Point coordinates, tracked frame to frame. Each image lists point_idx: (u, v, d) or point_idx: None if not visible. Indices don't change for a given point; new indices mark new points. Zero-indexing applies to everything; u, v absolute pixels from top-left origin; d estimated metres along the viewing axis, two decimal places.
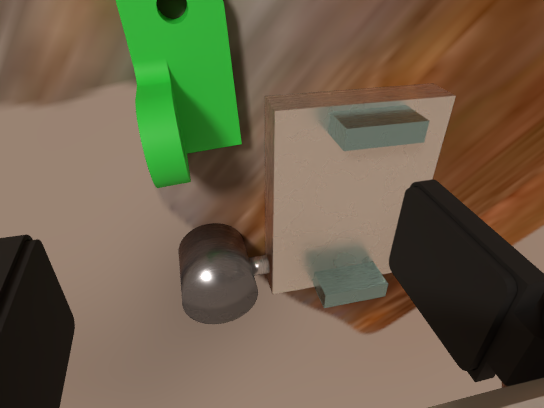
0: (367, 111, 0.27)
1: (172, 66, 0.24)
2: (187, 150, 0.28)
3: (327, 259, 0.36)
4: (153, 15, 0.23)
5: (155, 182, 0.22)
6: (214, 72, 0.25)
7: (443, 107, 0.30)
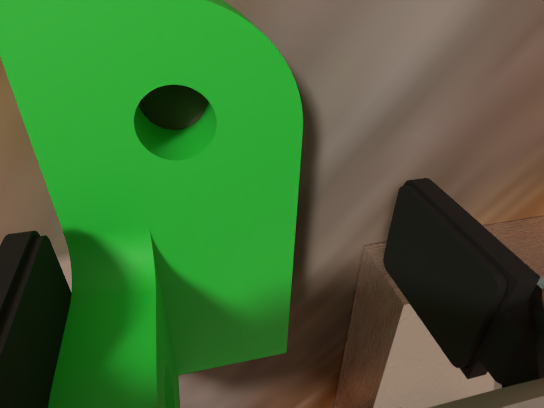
0: None
1: (163, 242, 0.10)
2: (179, 371, 0.14)
3: None
4: (124, 142, 0.09)
5: None
6: (256, 249, 0.11)
7: None
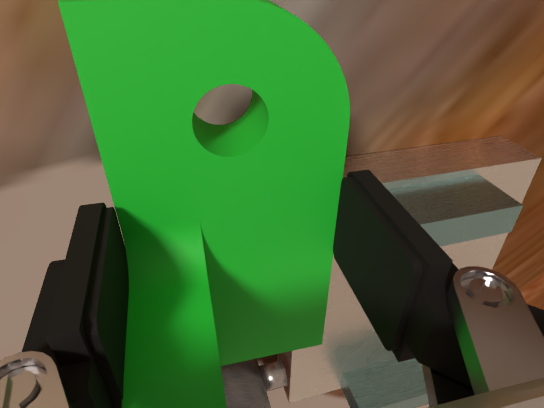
0: (429, 188, 0.19)
1: (212, 236, 0.11)
2: (220, 362, 0.14)
3: (359, 357, 0.28)
4: (182, 139, 0.09)
5: None
6: (298, 242, 0.12)
7: (524, 173, 0.22)
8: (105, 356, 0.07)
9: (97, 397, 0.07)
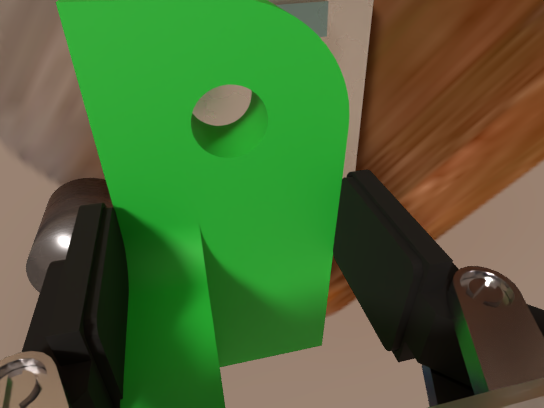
0: None
1: (211, 237, 0.11)
2: (219, 363, 0.14)
3: None
4: (181, 140, 0.09)
5: None
6: (298, 243, 0.12)
7: None
8: (105, 356, 0.07)
9: (97, 397, 0.07)
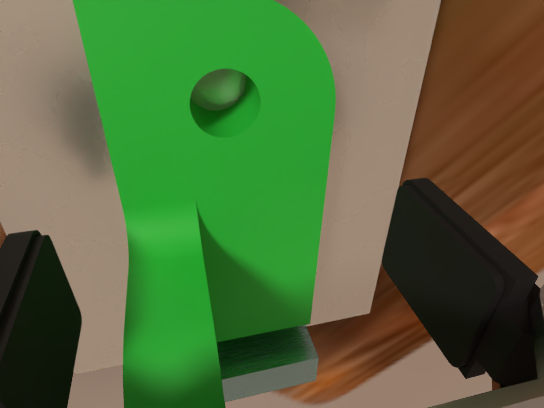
0: None
1: (207, 214, 0.12)
2: None
3: None
4: (180, 120, 0.10)
5: None
6: (288, 222, 0.13)
7: None
8: None
9: None
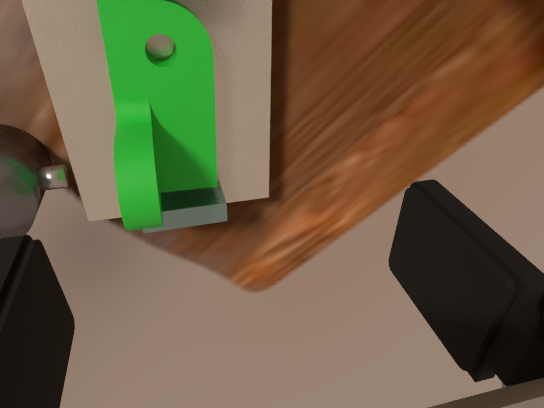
0: None
1: (154, 107, 0.24)
2: (161, 189, 0.27)
3: None
4: (140, 56, 0.22)
5: (125, 227, 0.22)
6: (197, 116, 0.25)
7: None
8: None
9: None
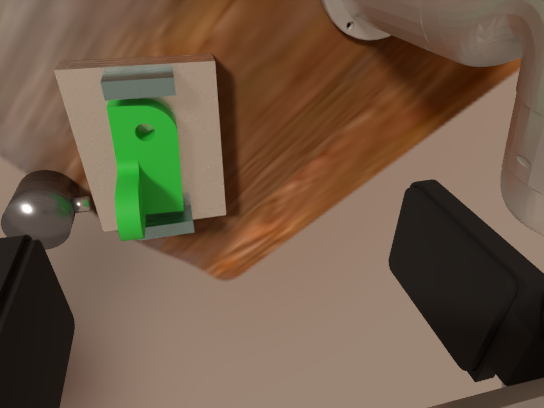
0: (133, 71, 0.35)
1: (141, 163, 0.38)
2: (146, 212, 0.42)
3: None
4: (132, 136, 0.37)
5: (121, 239, 0.36)
6: (168, 168, 0.40)
7: (207, 70, 0.37)
8: None
9: None
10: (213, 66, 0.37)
